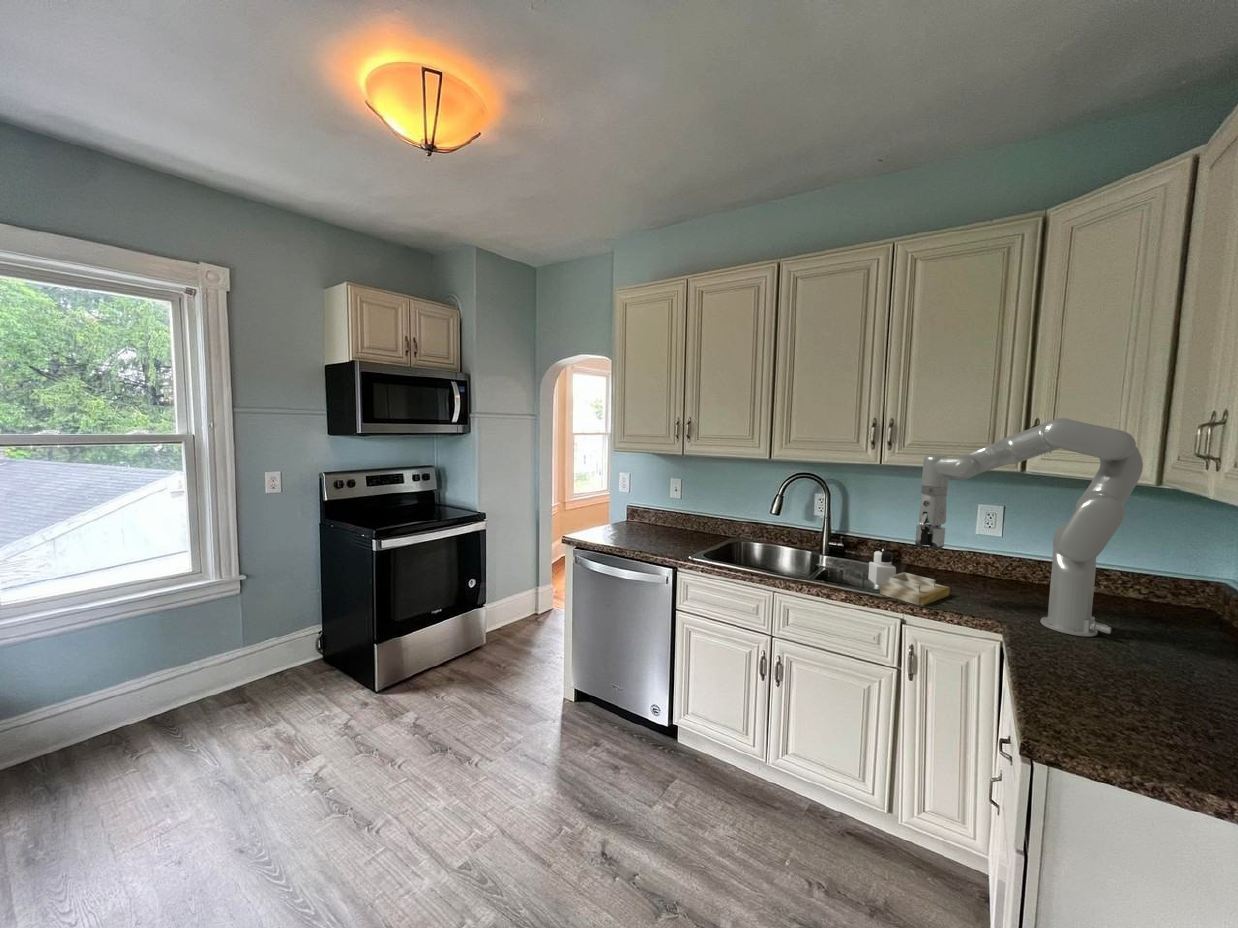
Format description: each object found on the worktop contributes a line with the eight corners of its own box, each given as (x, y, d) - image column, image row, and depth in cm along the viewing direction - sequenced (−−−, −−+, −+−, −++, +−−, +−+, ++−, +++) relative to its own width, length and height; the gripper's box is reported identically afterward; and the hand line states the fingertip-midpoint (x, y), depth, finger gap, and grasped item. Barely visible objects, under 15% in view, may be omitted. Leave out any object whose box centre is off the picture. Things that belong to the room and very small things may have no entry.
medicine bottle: (886, 580, 194) (888, 550, 193) (895, 585, 187) (897, 554, 186) (868, 579, 194) (869, 549, 193) (875, 584, 187) (877, 553, 186)
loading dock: (949, 595, 176) (950, 580, 176) (922, 605, 165) (923, 589, 165) (908, 584, 188) (908, 570, 188) (880, 593, 177) (880, 578, 176)
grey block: (943, 548, 168) (945, 527, 168) (937, 550, 166) (938, 529, 165) (921, 544, 174) (923, 524, 174) (914, 545, 171) (916, 525, 171)
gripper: (934, 494, 160) (930, 549, 162) (956, 491, 170) (952, 543, 172) (910, 491, 166) (906, 544, 168) (933, 488, 176) (928, 538, 178)
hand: (929, 543), depth 170 cm, fingers closed on grey block, 5 cm apart
